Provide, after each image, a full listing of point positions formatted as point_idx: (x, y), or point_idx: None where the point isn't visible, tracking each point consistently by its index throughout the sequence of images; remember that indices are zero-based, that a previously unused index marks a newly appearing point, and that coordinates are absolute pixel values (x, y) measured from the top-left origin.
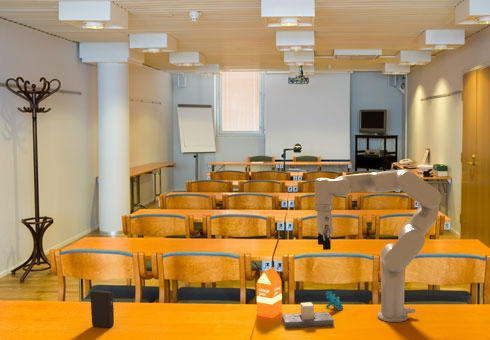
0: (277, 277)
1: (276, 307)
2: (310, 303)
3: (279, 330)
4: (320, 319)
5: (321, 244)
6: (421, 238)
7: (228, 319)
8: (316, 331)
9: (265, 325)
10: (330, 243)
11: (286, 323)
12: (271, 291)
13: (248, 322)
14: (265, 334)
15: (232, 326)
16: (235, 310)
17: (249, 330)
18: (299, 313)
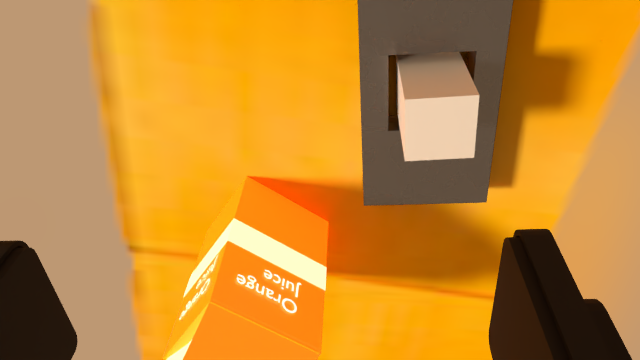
0: (219, 337)
1: (287, 226)
2: (428, 107)
3: (499, 210)
4: (491, 24)
5: (58, 301)
6: None
7: (329, 352)
8: (569, 50)
9: (422, 252)
10: (602, 342)
11: (485, 195)
12: (322, 322)
13: (373, 301)
14: None
15: (409, 346)
16: None
17: (466, 304)
18: (363, 124)
